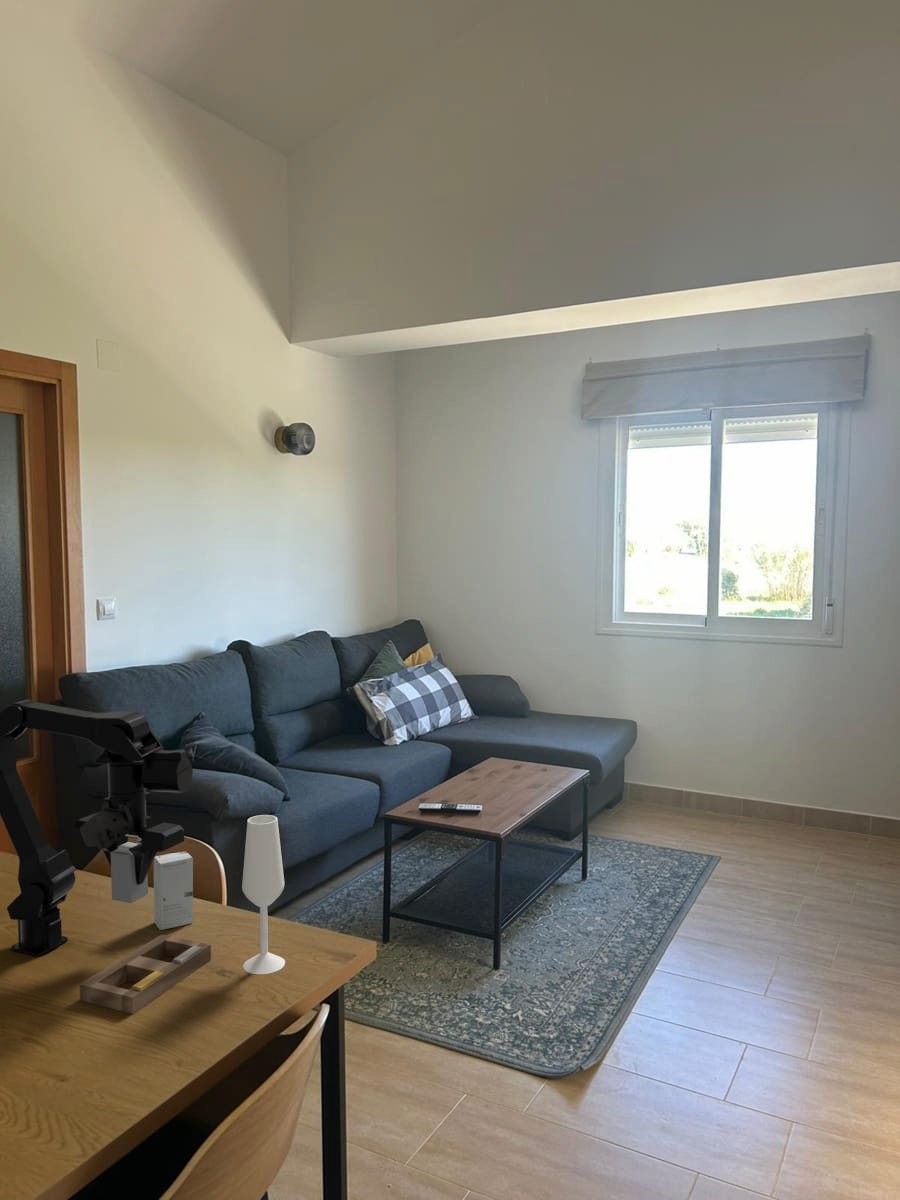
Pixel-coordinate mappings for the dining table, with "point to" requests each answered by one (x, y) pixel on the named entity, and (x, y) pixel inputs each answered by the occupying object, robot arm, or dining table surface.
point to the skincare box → (173, 890)
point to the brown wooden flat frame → (145, 973)
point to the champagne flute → (263, 883)
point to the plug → (126, 875)
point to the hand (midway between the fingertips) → (129, 882)
